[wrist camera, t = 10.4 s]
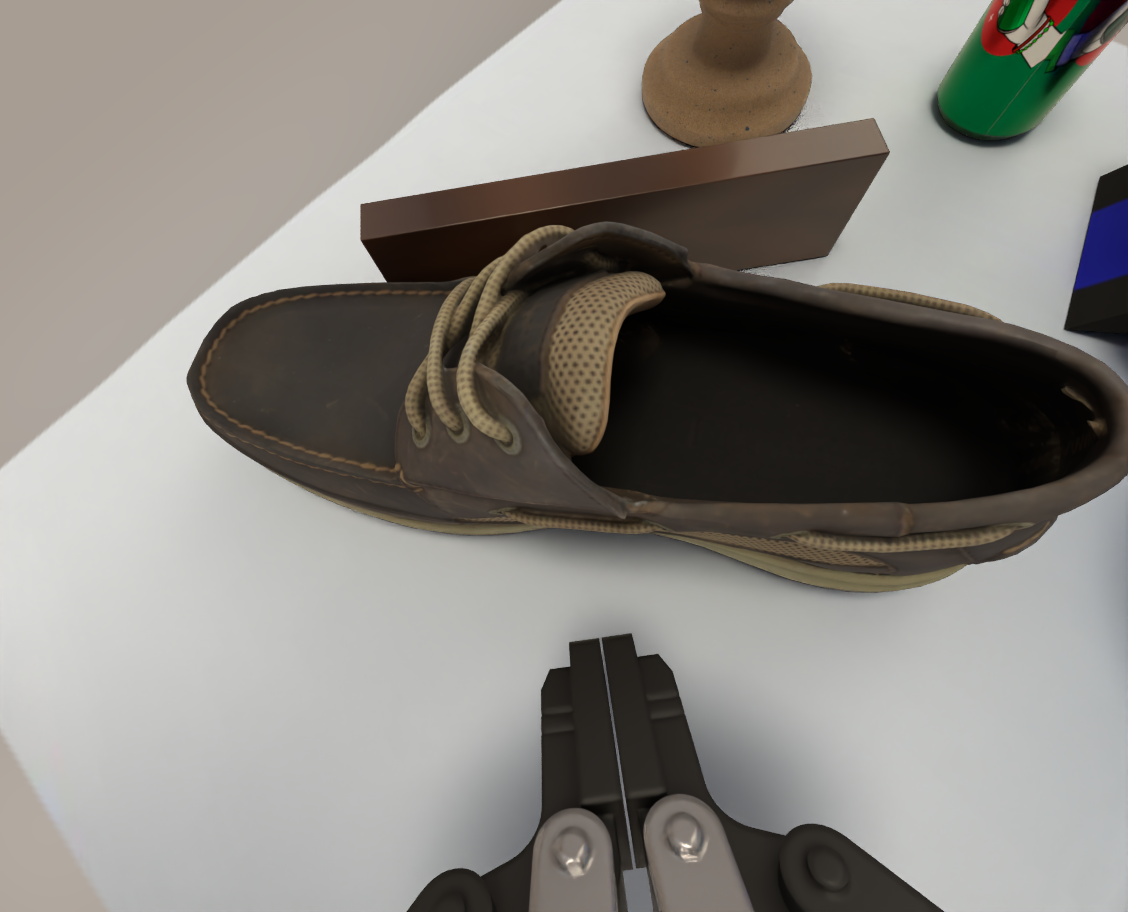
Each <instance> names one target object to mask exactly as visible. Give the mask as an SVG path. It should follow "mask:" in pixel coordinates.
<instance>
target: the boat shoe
mask: <svg viewBox="0 0 1128 912" xmlns="http://www.w3.org/2000/svg"><path fill="white" fill-rule="evenodd" d="M543 246H547V248H545V249H543V250H542V251H540V252H538V251H539V250H540V248H541V247H543ZM688 253H689V252H688V249H687V248H685V247H683V246H680V245H678V244H676V243H674V242H672V241H670V240H667V239H665V238H663V237H661V236H659V235H657V234H654V233H652V232H649V231H646V230H643V229H640V228H636V227H633V226H629V225H626V224H622V223H615V222H599V223H593V224H590V225H587V226H583V227H581V228H579V229H577V230H575V231H574V230H573V229H571V228H569V227H565V226H562V225H549V226H545V227H541V228H538V229H536V230H534V231H532V232H530V233H528V234H526V235H524V236H523V237H522V238H521V239H520V240H519V241H518V242H517V243H516V244H515V245H514V246H513V247H512V248H511V249H510V250H509V251H508V252H507V253H506V254H505V255H504V256H502V257H499V258H497V259H495V260H494V261H493V262H492V263H490V264H489V265H488V266H486V267H485V268H484V269H483V270H482V271H481V272H480V273H479V275H478V276H470V277H464V278H461V279H458V280H454V281H449V282H387V283H357V284H335V285H318V286H304V287H297V288H290V289H282V290H277V291H274V292H269V293H264V294H261V295H258V296H256V297H251V298H249V299H246V300H244V301H242V302H240V303H238V304H236V305H234V306H233V307H231V308H230V309H229V310H228V311H227V312H226V313H225V314H224V315H223V316H222V317H221V318H220V319H219V320H218V321H217V322H216V323H215V324H214V326H213V327H212V329H211V330H210V331H209V333H208V334H207V336H206V337H205V338H204V340H203V342H202V344H201V346H200V348H199V350H198V352H197V355H196V357H195V359H194V361H193V363H192V365H191V367H190V369H189V371H188V374H187V385H188V388H189V390H190V393H191V396H192V399H193V401H194V403H195V406H196V408H197V410H198V412H199V414H200V416H201V417H202V419H203V420H204V422H205V423H206V424H207V425H208V426H209V427H210V428H211V429H212V430H213V431H214V432H215V433H216V434H217V435H219V436H220V437H221V438H222V439H223V440H225V441H226V442H227V443H229V444H230V445H231V446H233V447H234V448H236V449H237V450H238V451H240V452H241V453H243V454H244V455H246V456H248V457H249V458H251V459H253V460H254V461H256V462H258V463H259V464H261V465H263V466H264V467H265V468H267V469H268V470H270V471H272V472H274V473H275V474H277V475H279V476H281V477H283V478H284V479H286V480H288V481H290V482H292V483H294V484H296V485H298V486H300V487H302V488H304V489H306V490H308V491H310V492H312V493H314V494H316V495H318V496H320V497H323V498H325V499H327V500H330V501H332V502H335V503H337V504H339V505H342V506H345V507H347V508H350V509H353V510H355V511H358V512H361V513H364V514H367V515H370V516H374V517H377V518H380V519H384V520H387V521H390V522H394V523H397V524H401V525H405V526H408V527H413V528H418V529H423V530H429V531H436V532H443V533H450V534H462V535H497V534H508V533H516V532H524V531H530V530H536V529H545V528H564V529H576V530H587V531H598V532H608V533H622V534H641V533H651V534H655V535H660V536H664V537H668V538H673V539H677V540H681V541H685V542H689V543H692V544H696V545H699V546H702V547H705V548H708V549H710V550H713V551H715V552H718V553H721V554H723V555H726V556H729V557H731V558H734V559H736V560H739V561H742V562H744V563H747V564H750V565H752V566H755V567H758V568H760V569H763V570H766V571H769V572H771V573H774V574H777V575H779V576H782V577H785V578H788V579H791V580H795V581H798V582H802V583H805V584H810V585H814V586H818V587H823V588H828V589H834V590H841V591H847V592H874V593H877V592H886V591H897V590H903V589H909V588H915V587H920V586H924V585H927V584H930V583H933V582H936V581H939V580H941V579H944V578H946V577H948V576H950V575H952V574H953V573H955V572H957V571H959V570H960V569H962V568H963V567H964V566H966V565H967V564H968V565H970V564H980V563H984V562H991V561H996V560H1001V559H1005V558H1008V557H1010V556H1013V555H1016V554H1018V553H1020V552H1021V551H1023V550H1025V549H1026V548H1028V547H1029V546H1031V545H1033V544H1034V543H1036V542H1037V541H1038V540H1039V539H1040V538H1041V537H1042V536H1043V534H1044V533H1045V532H1046V531H1047V530H1048V529H1049V528H1050V527H1051V526H1052V525H1053V523H1054V522H1055V521H1056V519H1057V517H1058V515H1061V514H1063V513H1066V512H1069V511H1071V510H1073V509H1075V508H1077V507H1079V506H1081V505H1084V504H1085V503H1087V502H1089V501H1091V500H1093V499H1094V498H1096V497H1098V496H1100V495H1102V494H1103V493H1105V492H1107V491H1108V490H1109V489H1111V488H1112V487H1114V486H1115V485H1117V484H1118V483H1119V482H1120V481H1121V480H1122V479H1123V478H1124V477H1125V476H1126V475H1127V474H1128V387H1127V385H1126V384H1125V383H1124V381H1123V380H1122V379H1121V378H1120V377H1119V376H1118V375H1117V374H1116V373H1115V372H1114V371H1113V370H1112V369H1111V368H1109V367H1108V366H1107V365H1106V364H1105V363H1103V362H1102V361H1100V360H1098V359H1096V358H1094V357H1093V356H1091V355H1089V354H1087V353H1085V352H1084V351H1082V350H1080V349H1078V348H1076V347H1074V346H1071V345H1069V344H1066V343H1064V342H1061V341H1059V340H1056V339H1054V338H1051V337H1049V336H1046V335H1044V334H1041V333H1038V332H1034V331H1031V330H1028V329H1025V328H1022V327H1019V326H1015V325H1012V324H1008V323H1004V322H1002V321H1001V320H1000V319H998V318H997V317H995V316H993V315H991V314H989V313H987V312H984V311H982V310H979V309H976V308H974V307H971V306H968V305H965V304H960V303H956V302H951V301H947V300H942V299H938V298H933V297H929V296H924V295H920V294H915V293H911V292H905V291H898V290H892V289H885V288H879V287H872V286H865V285H857V284H849V283H830V284H825V285H820V286H817V287H816V286H812V285H807V284H803V283H799V282H795V281H791V280H787V279H781V278H774V277H767V276H760V275H755V274H750V273H745V272H740V271H736V270H731V269H726V268H723V267H719V266H715V265H712V264H707V263H695V262H691V261H690V260H688V259H687V257H688Z"/></svg>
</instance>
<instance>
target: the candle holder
mask: <svg viewBox="0 0 1128 912" xmlns="http://www.w3.org/2000/svg"><path fill="white" fill-rule="evenodd" d="M793 1H794V0H699V2H700V8H701V11H702V13H701V14H699V15H696V16H694V17H692V18H690V19H689V20H687V21H686V22H684V23H683V24H682V25H680V26H679V27H678V28H677V29H676V30H675V31H674V32H673V33H671V34H670V35H669V36H667V37H666V38H665V39H663V40H662V41H661V42H660V43H659V44H658V45H657V46H656V47H655V48H654V50H653V51H652V52H651V54H650V55H649V57H648V59H647V62H646V64H645V67H644V72H643V77H642V97H643V101H644V105H645V108H646V110H647V112H648V114H649V116H650V117H651V118H652V120H653V121H654V123H655V124H656V125H657V126H659V127H660V128H661V129H662V130H663V131H664V132H666V133H667V134H669V135H670V136H672V137H673V138H675V139H678V140H680V141H682V142H684V143H687V144H690V145H693V146H697V147H704V146H710V145H716V144H722V143H728V142H734V141H740V140H746V139H752V138H758V137H764V136H770V135H776V134H780V133H782V132H783V131H784V130H785V129H786V128H788V127H789V126H790V125H791V124H792V123H793V122H794V120H795V119H796V118H797V117H798V115H799V114H800V112H801V110H802V108H803V106H804V104H805V102H806V100H807V97H808V94H809V91H810V87H811V79H812V73H811V67H810V64H809V61H808V59H807V56H806V55H805V53H804V52H803V50H802V49H801V47H800V46H799V45H798V44H797V42H796V40H795V38H794V36H793V35H792V33H791V32H790V30H789V29H788V28H787V27H786V26H785V25H784V24H782V23H781V22H780V21H778V20H777V18H778V17H779V16H780V15H781V14H782V12H783V10H784V9H785V8H786V7H787V6H788V5H790V4H791V3H792V2H793Z"/></svg>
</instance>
